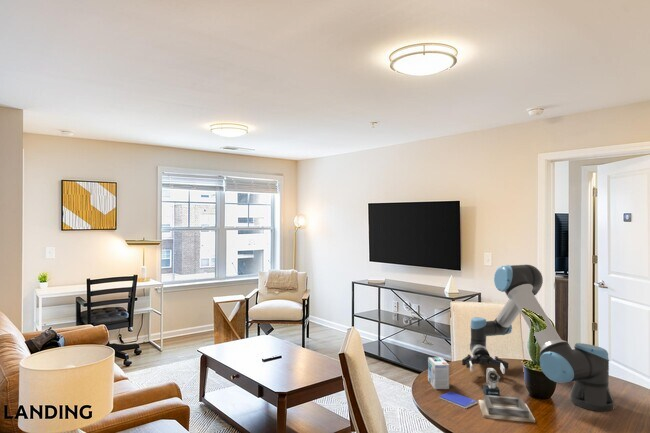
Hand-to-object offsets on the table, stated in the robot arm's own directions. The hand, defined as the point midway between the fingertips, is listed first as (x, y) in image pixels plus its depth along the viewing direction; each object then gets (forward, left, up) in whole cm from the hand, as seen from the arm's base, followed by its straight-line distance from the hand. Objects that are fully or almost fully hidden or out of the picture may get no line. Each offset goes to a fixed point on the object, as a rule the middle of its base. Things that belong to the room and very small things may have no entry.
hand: (487, 369), depth 192 cm
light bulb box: (+21, +5, -7) cm, 23 cm away
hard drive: (+13, +20, -8) cm, 25 cm away
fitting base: (-5, +25, -7) cm, 27 cm away
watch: (-1, +10, -7) cm, 12 cm away
